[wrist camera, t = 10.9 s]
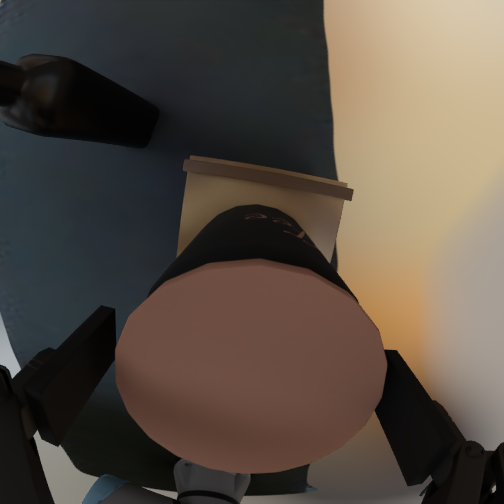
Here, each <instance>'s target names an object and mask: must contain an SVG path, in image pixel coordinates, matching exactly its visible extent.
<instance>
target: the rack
mask: <svg viewBox="0 0 504 504" xmlns="http://www.w3.org/2000/svg"><path fill="white" fill-rule="evenodd" d="M183 171H187V172H188V173H187V179H186V186H185V193H184V200H183V207H182V215H181V223H180V231H179V239H178V248H177V257H178V256H179V255H180V254H181V253H182V251H183V250H184V249H185V248H186V247H187V246H188V245H189V243H190V242H191V241H192V240H193V239H194V238H195V237H196V236H197V234H198V233H199V232H200V231H201V230H202V229H203V228H204V227H205V226H206V225H207V224H208V223H209V222H210V221H211V220H212V219H213V218H215V217H216V216H217V215H218V214H220V213H222V212H224V211H226V210H229V209H231V208H233V207H235V206H241V205H252V204H259V205H264V206H268V207H273V208H277V209H279V210H280V211H282V212H284V213H285V214H287V215H288V216H290V217H292V218H293V219H295V221H296V222H297V223H298V224H299V225H300V227H301V228H302V229H303V230H304V231H305V232H306V234H307V235H308V236H309V237H310V239H311V240H312V241H313V242H314V244H315V245H316V246H317V247H318V249H319V250H320V251H321V253H322V254H323V255H324V256H325V258H326V259H327V260H328V262H329V263H330V262H331V258H332V254H333V250H334V245H335V241H336V237H337V232H338V228H339V223H340V219H341V214H342V208H343V204H344V200H349V201H351V200H352V195H353V189H350V188H347V183H343V182H339V181H334V180H330V179H325V178H321V177H316V176H312V175H307V174H302V173H297V172H292V171H287V170H281V169H276V168H271V167H265V166H259V165H254V164H248V163H241V162H235V161H229V160H222V159H215V158H208V157H201V156H193V155H190V159H184V164H183Z"/></svg>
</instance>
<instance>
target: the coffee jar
mask: <svg viewBox="0 0 504 504" xmlns="http://www.w3.org/2000/svg"><path fill="white" fill-rule="evenodd" d="M386 371H387V360H386V356H385V352H384V348H383V344H382V340H381V336H380V332H379V329H378V328H377V327H376V325H375V324H374V323H373V322H372V320H371V319H370V318H369V316H368V315H367V314H366V313H365V311H364V310H363V309H362V307H361V306H360V305H359V302H358V300H357V298H356V297H355V296H354V294H353V293H352V292H351V291H350V289H349V288H348V286H347V285H346V284H345V282H344V281H343V280H342V279H341V277H340V276H339V275H338V273H337V272H336V271H335V269H334V268H333V267H332V265H331V264H330V263H329V262H328V260H327V259H326V258H325V256H324V255H323V254H322V253H321V251H320V250H319V249H318V247H317V246H316V245H315V244H314V242H313V241H312V240H311V239H310V237H309V236H308V235H307V234H306V232H305V231H304V230H303V229H302V228H301V227H300V225H299V224H298V223H297V222H296V221H295V219H293V218H292V217H290V216H288V215H287V214H285V213H284V212H282V211H280V210H279V209H277V208H273V207H268V206H264V205H259V204H252V205H241V206H235V207H233V208H231V209H229V210H226V211H224V212H222V213H220V214H218V215H217V216H216V217H215V218H213V219H212V220H211V221H210V222H209V223H208V224H207V225H206V226H205V227H204V228H203V229H202V230H201V231H200V232H199V233H198V234H197V236H196V237H195V238H194V239H193V240H192V241H191V242H190V243H189V245H188V246H187V247H186V248H185V249H184V250H183V251H182V253H181V254H180V255H179V256H178V257H177V258H176V260H175V261H174V262H173V263H172V264H171V265H170V267H169V268H168V269H167V270H166V271H165V272H164V274H163V275H162V276H161V277H160V278H159V279H158V281H157V282H156V283H155V284H154V285H153V287H152V288H151V290H150V292H149V294H148V296H147V298H146V300H145V301H144V302H143V303H142V304H141V305H140V306H139V307H138V308H137V309H136V310H135V311H134V312H132V313H131V314H130V315H129V317H128V319H127V322H126V324H125V326H124V329H123V331H122V334H121V336H120V338H119V341H118V343H117V346H116V348H115V373H116V385H117V387H118V390H119V392H120V395H121V397H122V399H123V402H124V404H125V406H126V409H127V411H128V413H129V414H130V415H131V416H132V418H133V419H134V420H135V421H136V422H137V424H138V425H139V426H140V427H141V428H142V429H143V430H144V432H145V433H146V434H147V435H148V436H149V437H150V438H151V439H153V440H154V441H155V442H157V443H158V444H160V445H161V446H163V447H164V448H166V449H167V450H169V451H170V452H172V453H173V454H175V455H176V456H178V457H181V458H183V459H186V460H188V461H191V462H193V463H196V464H198V465H201V466H204V467H207V468H210V469H215V470H221V471H228V472H234V473H242V474H251V473H270V472H280V471H284V470H288V469H292V468H295V467H299V466H303V465H306V464H309V463H312V462H314V461H316V460H318V459H320V458H322V457H324V456H326V455H328V454H330V453H331V452H333V451H335V450H337V449H339V448H340V447H342V446H343V445H344V444H345V443H346V442H348V441H349V440H350V439H351V438H352V437H353V436H354V435H355V434H356V433H357V432H358V431H360V430H361V429H362V427H364V426H365V425H366V423H367V421H368V420H369V418H370V417H371V415H372V413H373V412H374V410H375V408H376V406H377V405H378V403H379V401H380V399H381V398H382V393H383V388H384V382H385V377H386Z"/></svg>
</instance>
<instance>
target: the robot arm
mask: <svg viewBox="0 0 504 504" xmlns="http://www.w3.org/2000/svg"><path fill="white" fill-rule="evenodd" d="M115 348H116V322H115V309H114V308H110V307H106V306H102V305H101V306H100V307H99V308H98V309H97V310H96V311H95V312H94V313H93V314H92V315H91V316H90V317H89V318H88V319H87V320H86V321H84V322H83V323H82V324H81V325H80V326H79V327H78V328H77V329H76V330H75V331H74V332H73V333H72V334H71V335H70V336H69V337H68V338H67V339H66V340H65V341H64V342H63V343H62V344H61V345H60V346H59V347H58V348H57V349H56V350H55V349H52V348H50V347H49V348H47V349H44V350H42V351H40V352H39V353H38V354H37V355H36V356H35V357H34V358H33V359H32V360H30V361H29V362H28V363H27V366H26V365H25V366H24V367H23V368H22V369H21V370H20V371H19V373H17V374H16V375H15V377H14V378H13V379H12V378H11V374H10V371H9V370H8V369H7V368H6V367H5V366H3V365H0V504H55V503H54V501H53V498H52V495H51V492H50V490H49V487H48V484H47V481H46V478H45V474H44V471H43V468H42V464H41V461H40V457H39V454H38V450H37V446H36V442H35V439H34V437H33V435H34V434H35V433H36V431H37V430H38V432H39V434H40V436H41V439H42V440H44V441H46V442H49V443H51V444H53V445H55V446H57V447H58V446H59V445H60V443H61V442H62V440H63V438H64V437H65V435H66V433H67V432H68V430H69V429H70V427H71V425H72V424H73V422H74V421H75V419H76V417H77V416H78V414H79V413H80V411H81V410H82V408H83V406H84V405H85V403H86V402H87V400H88V399H89V397H90V396H91V394H92V393H93V391H94V390H95V388H96V387H97V385H98V384H99V382H100V380H101V379H102V377H103V376H104V374H105V373H106V372H107V370H108V369H109V367H110V366H111V364H112V363H113V361H114V360H115ZM384 352H385V356H386V360H387V371H386V377H385V382H384V388H383V393H382V398H381V399H380V401H379V403H378V405H377V406H376V408H375V412H376V415H377V417H378V419H379V421H380V424H381V426H382V428H383V430H384V432H385V435H386V437H387V439H388V441H389V444H390V445H391V448H392V451H393V453H394V455H395V457H396V460H397V462H398V465H399V467H400V469H401V472H402V474H403V476H404V479H405V481H406V483H407V486H413V485H417V484H422V483H423V482H424V481H425V480H426V479H427V478H428V476H429V475H431V477H432V479H433V480H432V481H431V483H430V484H429V485H428V486H427V487H426V488H425V489H424V490H423V491H422V492H421V494H420V495H419V496H422V495H423V494H424V493H425V492H426V493H425V496H424V498H423V501H422V503H421V504H504V442H503V443H501V444H500V445H499V446H498V447H497V449H496V450H495V451H485V450H484V448H483V447H482V446H481V445H480V444H479V443H477V442H475V441H466V439H465V438H464V436H463V435H462V433H461V432H460V431H459V429H458V428H457V426H456V425H455V423H454V422H452V419H451V417H450V416H448V413H447V411H446V410H445V409H444V407H443V406H442V405H440V404H439V403H438V402H437V401H434V400H433V401H432V399H431V398H430V396H429V395H428V393H427V392H426V391H425V389H424V388H423V386H422V385H421V384H420V382H419V381H418V379H417V378H416V377H415V375H414V373H413V372H412V371H411V369H410V368H409V367H408V365H407V364H406V362H405V361H404V360H403V358H402V357H401V355H400V354H399V353H398V351H397V350H384ZM174 476H175V482H176V487H177V492H178V497H177V500H176V499H172V498H170V497H166V496H164V495H161V494H158V493H155V492H152V491H150V490H147V489H145V488H142V487H140V486H138V485H135V484H133V483H130V481H125V480H122V479H120V478H117V477H115V476H112V475H108V474H107V475H103V476H101V477H99V479H98V480H97V481H96V482H95V483H94V484H93V486H92V487H91V489H90V490H89V492H88V493H87V495H86V497H85V498H84V500H83V502H82V504H240V502H241V500H242V498H243V496H244V494H245V492H246V489H247V487H248V485H249V483H250V474H242V473H234V472H228V471H221V470H215V469H210V468H207V467H204V466H201V465H198V464H196V463H193V462H191V461H188V460H186V459H183V458H181V457H179V458H178V459H177V460H176V462H175V466H174ZM495 485H496V491H495V492H494V493H492V488H493V487H494V486H495Z"/></svg>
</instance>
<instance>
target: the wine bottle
mask: <svg viewBox="0 0 504 504" xmlns="http://www.w3.org/2000/svg"><path fill="white" fill-rule="evenodd" d="M158 117H159V109H158V107H156V106H154V105H153V104H151V103H150V102H148V101H146V100H144V99H143V98H141V97H139V96H138V95H136V94H134V93H133V92H131V91H129V90H127V89H126V88H124V87H122V86H120V85H119V84H117V83H115V82H113V81H112V80H110V79H108V78H106V77H104V76H103V75H101V74H99V73H97V72H95V71H93V70H92V69H90V68H88V67H86V66H84V65H82V64H80V63H78V62H77V61H75V60H72V59H70V58H66V57H60V56H53V55H43V54H30V55H27V56H23V57H21V58H20V59H18V60H17V61H16V62H15V63H14V64H11V63H7V62H4V61H1V60H0V119H1V120H2V121H3V123H4V124H5V125H6V126H9V127H12V128H15V129H18V130H22V131H25V132H28V133H32V134H35V135H38V136H44V137H54V138H64V139H74V140H82V141H91V142H99V143H106V144H113V145H120V146H127V147H134V148H144V147H145V146H147V144H148V143H149V140H150V138H151V135H152V132H153V130H154V127H155V125H156V122H157V119H158Z"/></svg>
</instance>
